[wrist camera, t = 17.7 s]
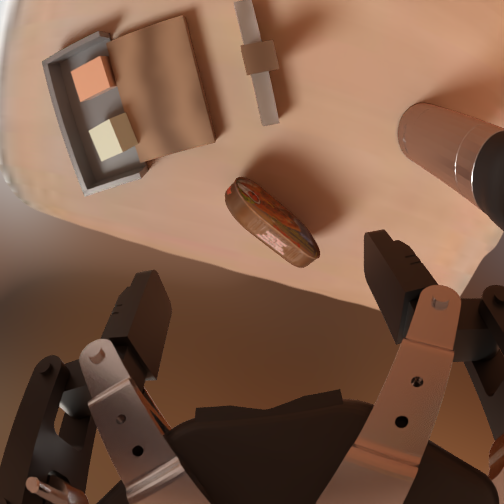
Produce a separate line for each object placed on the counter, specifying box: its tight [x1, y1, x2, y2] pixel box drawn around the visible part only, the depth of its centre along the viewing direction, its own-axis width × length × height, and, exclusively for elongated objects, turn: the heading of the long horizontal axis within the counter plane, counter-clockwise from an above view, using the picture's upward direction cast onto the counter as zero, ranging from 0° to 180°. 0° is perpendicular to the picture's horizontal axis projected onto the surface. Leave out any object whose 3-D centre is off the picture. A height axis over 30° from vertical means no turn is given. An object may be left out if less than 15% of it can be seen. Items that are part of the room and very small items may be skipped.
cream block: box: [89, 112, 138, 161], centre depth 35 cm, size 4×4×3 cm
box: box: [42, 31, 148, 196], centre depth 34 cm, size 9×20×4 cm, turn 12°
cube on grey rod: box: [234, 0, 279, 126], centre depth 29 cm, size 3×16×10 cm, turn 12°
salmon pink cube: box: [71, 56, 117, 102], centre depth 31 cm, size 4×4×3 cm
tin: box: [225, 177, 320, 268], centre depth 40 cm, size 15×3×8 cm, turn 48°
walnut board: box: [106, 15, 216, 163], centre depth 33 cm, size 10×17×2 cm, turn 12°
